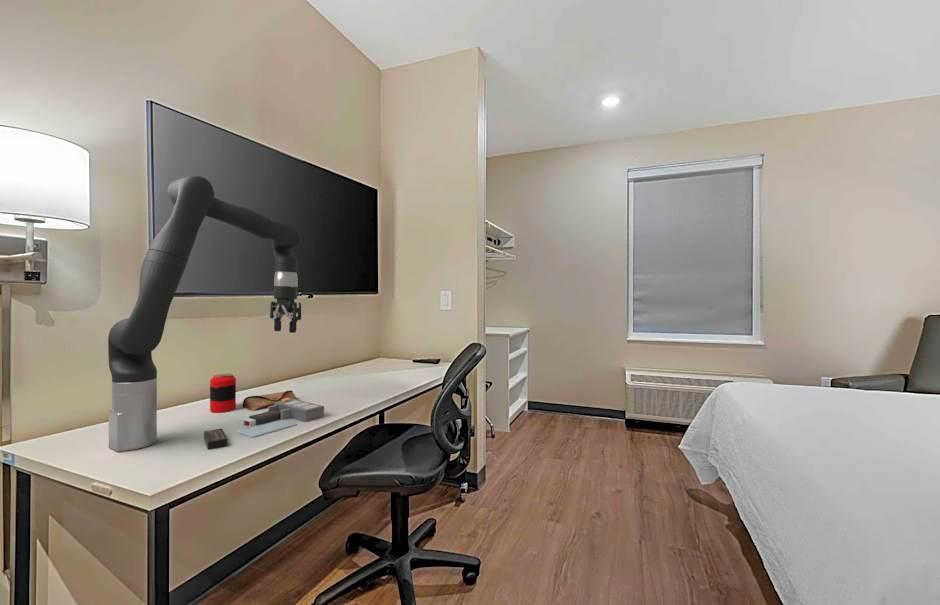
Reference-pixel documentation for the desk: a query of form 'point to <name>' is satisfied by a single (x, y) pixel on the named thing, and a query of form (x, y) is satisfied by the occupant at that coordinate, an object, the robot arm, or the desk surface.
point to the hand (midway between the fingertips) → (285, 331)
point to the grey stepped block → (298, 409)
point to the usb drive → (262, 418)
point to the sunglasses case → (266, 400)
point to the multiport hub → (215, 439)
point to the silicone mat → (267, 428)
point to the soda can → (222, 393)
